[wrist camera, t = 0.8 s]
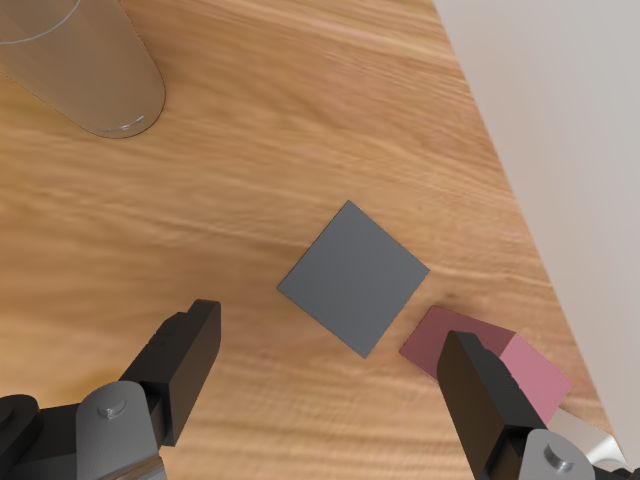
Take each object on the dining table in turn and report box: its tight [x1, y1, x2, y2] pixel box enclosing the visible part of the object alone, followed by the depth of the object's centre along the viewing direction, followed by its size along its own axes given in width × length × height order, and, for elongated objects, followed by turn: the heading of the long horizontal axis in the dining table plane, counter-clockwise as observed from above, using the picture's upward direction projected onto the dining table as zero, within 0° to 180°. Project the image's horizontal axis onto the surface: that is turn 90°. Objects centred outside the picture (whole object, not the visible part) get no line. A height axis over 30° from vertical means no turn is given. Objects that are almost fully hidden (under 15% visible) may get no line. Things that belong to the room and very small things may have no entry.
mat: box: [277, 200, 430, 359], centre depth 34 cm, size 12×12×1 cm
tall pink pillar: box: [399, 306, 573, 426], centre depth 30 cm, size 6×6×12 cm
